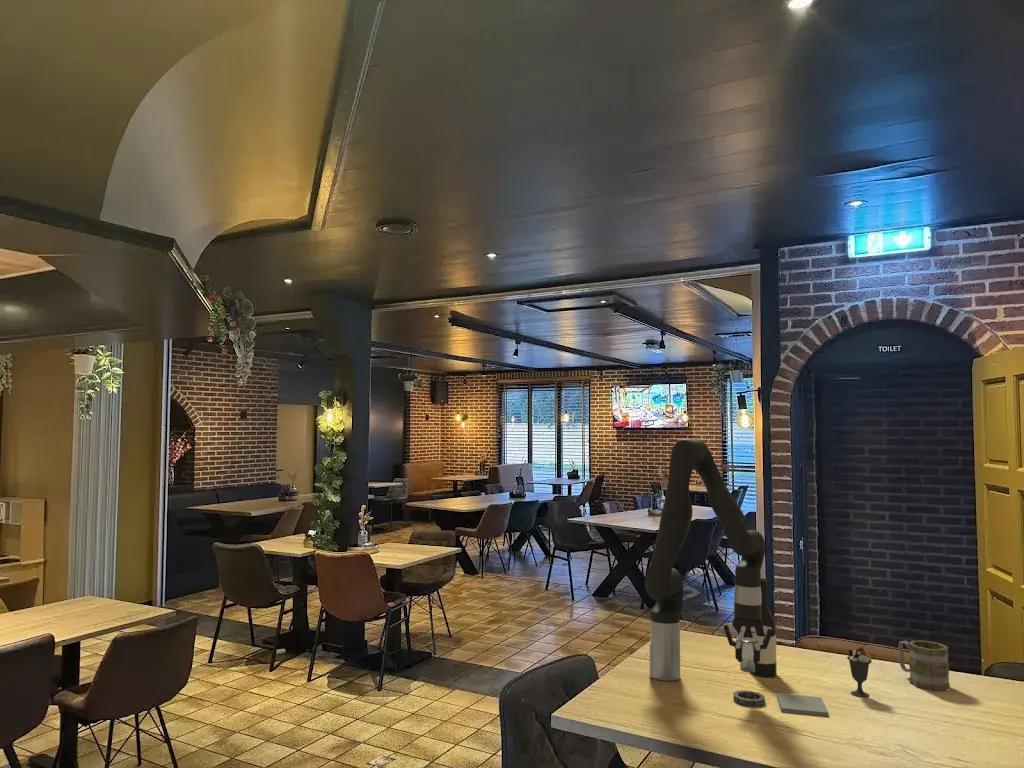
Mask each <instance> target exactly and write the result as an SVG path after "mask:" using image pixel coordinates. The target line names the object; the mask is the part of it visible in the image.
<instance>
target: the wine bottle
mask: <svg viewBox="0 0 1024 768" xmlns="http://www.w3.org/2000/svg"><path fill="white" fill-rule="evenodd" d="M761 594H762V623H763V625H764V626H767V627H771V628H772V630H773V632H772V635H771V638H770V641H769V643H768V646H767V648H766V649H761V650H760V661H759V662H758V664H755V672H749V674H750V673H751V675H752V674H753V676H754V675H755V676H754V677H757V676H758V677H759V678H766V679H769V678H776V676H777V670H778V669H777V633H776V631H777V627H776V626H777V625H776V624H777V622H776V621H777V620H776V619H775V617H774V615H773V613H772V612H771V610H770V608H769V606H768V605H769V604H768V580H766V577H764V576H763V577H762V576H761ZM764 637H765V634H764V630H763V629H762V630H761V631H760V633H759V634H758V635H757V638H758V641H759V644H761V643H762V642H763V639H764ZM748 640H752V641H754V640H753V638H749V637H748Z"/></svg>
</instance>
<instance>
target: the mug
mask: <svg viewBox="0 0 1024 768" xmlns="http://www.w3.org/2000/svg"><path fill="white" fill-rule="evenodd" d="M904 645H905V647H907V648H908V649H907V650H908V652H909V654H908V655H909V658H908V668H907V667H906V664H905V655H904V654H905V653H904V647H903V646H904ZM897 647H898V656H899V657H898V659H899V666H900V668H901V670H903V672H904V673H909V682H908V683H909V684H910V685H912V686H914V687H916V688H917V689H922V690H925V689H926V690H927V691H930V690H931V691H930V692H947V691H948V690H949V688H950V689H951V685H950V680H949V679H950V676H949V675H950V663H949V647H948V646H946V645H944V644H942V643H940V642H934V641H930V640H929V641H928V640H911V641H910V642H909V641H907V640H902V641H899V642H898V646H897ZM947 689H948V690H947ZM946 690H947V691H946Z"/></svg>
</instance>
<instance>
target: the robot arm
mask: <svg viewBox="0 0 1024 768" xmlns="http://www.w3.org/2000/svg"><path fill="white" fill-rule="evenodd" d="M668 470H669V471H668V480H667V485H666V490H665V496H664V503H663V506H662V510H661V515H660V519H659V526H658V531H657V536H656V539H655V545H654V548H653V549H654V551H653V553H652V558H651V561H650V563H649V567H648V570H647V571H646V572H647V573H646V575H645V576H646V577H645V590H646V593H647V594H648V595H649V597H650V598H651V599H652V600H656V602H655V604H654V606H653V607H652V608H651V609H650V611H649V614H650V615H649V637H650V638H649V641H650V642H649V678H651V679H655V680H657V681H658V680H659V681H664V682H665V681H667V682H672V681H677V680H680V679H681V615H682V612H683V606H684V603H683V602H684V581H683V577H682V575H681V574H680V572H679V571H678V570H677V569H676V568H675V567H673V566H674V562H675V560H676V557H677V555H678V553H679V551H680V550H681V548H682V546H683V544H684V543H685V541H686V539H687V538H688V535H689V532H690V528H691V523H692V518H693V504H692V499H691V493H690V482H691V478H692V473H693V470H694V471H696V473H697V475H698V476H699V477H700V478H701V480H702V481H703V484H704V486H705V489H706V493H707V498H708V502H709V504H710V507H711V509H712V511H713V512H714V514H715V516H716V517H717V519H718V521H719V522H720V523H721V525H722V528H723V531H724V534H725V537H726V540H727V543H728V546H729V547H730V548H731V550H732V551H733V552H734V554H736V555H737V556H740V557H741V560H740V562H739V563H737V565H736V567H735V569H734V570H735V572H734V584H735V585H734V590H733V591H734V592H733V620H732V621H731V622H729V623H727V622H724V623H723V624H722V625H723V629H724V632H725V635H726V638H727V642H728V644H729V646H731V647H733V648H734V649H735V651H734V652H735V653H734V655H735V660H737V662H738V663H740V662H741V649H740V646H741V642H742V640H744V638H745V639H746V638H748V639H749V638H753V640H754V643H755V664H758V662H759V661H760V650H761V649H766V648H767V646H768V643H769V641H770V638H771V635H772V632H773V630H772V628H771V627H767V626H764V625H763V623H762V594H761V577H762V575H761V572H762V566H763V563H764V557H765V552H766V542H765V539H764V536H763V535H762V534H761V533H760V532H759V531H758V530H754V529H750V530H746V528H745V526H744V522H745V519H746V518H745V517H746V516H745V514H744V513H743V511H742V508H740V506H739V504H738V503H737V501H736V500H735V499H734V497H733V495H732V494H731V492H730V491H729V489H728V486H727V484H726V483H725V480H724V479H723V477H722V474H721V473H720V470H719V469H718V467H717V464H716V462H715V460H714V456H713V454H712V451H711V450H710V447H709V446H708V444H706V443H705V442H704V441H703V440H701V439H695V438H681V439H679V440H677V441H676V442H675V443H674V445H673V446H672V449H671V453H670V460H669V469H668ZM733 628H734V629H735V631H736V632H737V635H736V640H733V636H732V634H731V632H732V630H733ZM762 629H763V630H764V634H765V637H764V639H763V642H762V643H761V644H759V641H758V638H757V635H758V634H759V633H760V631H761V630H762Z"/></svg>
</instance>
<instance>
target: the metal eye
mask: <svg viewBox="0 0 1024 768" xmlns="http://www.w3.org/2000/svg"><path fill="white" fill-rule="evenodd" d="M732 694H733V702H735V703H737V704H738V705H741V706H742V705H743V706H745V707H755V708H756V707H763V706H764V705H766V698H765V695H763V694H762V693H760V692H757V691H752V690H744V689H743V690H736V691H734V692H733V693H732ZM750 698H751V699H750Z"/></svg>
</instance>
